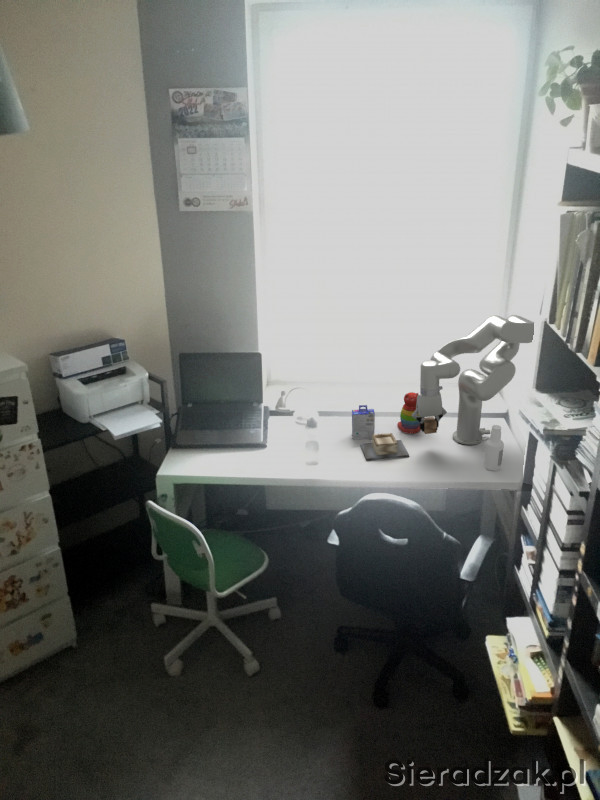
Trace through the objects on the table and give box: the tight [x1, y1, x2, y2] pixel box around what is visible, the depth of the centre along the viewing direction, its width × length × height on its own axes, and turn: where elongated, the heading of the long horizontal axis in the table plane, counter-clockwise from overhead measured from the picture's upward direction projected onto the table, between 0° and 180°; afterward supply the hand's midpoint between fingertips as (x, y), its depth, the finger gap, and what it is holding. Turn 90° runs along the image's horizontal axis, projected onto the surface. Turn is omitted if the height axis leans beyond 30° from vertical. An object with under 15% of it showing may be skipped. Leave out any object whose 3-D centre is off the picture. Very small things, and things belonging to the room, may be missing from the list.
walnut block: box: [423, 416, 438, 435], centre depth 268 cm, size 5×5×5 cm
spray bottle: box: [483, 424, 505, 472], centre depth 253 cm, size 7×7×18 cm
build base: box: [359, 432, 410, 462], centre depth 269 cm, size 18×13×6 cm
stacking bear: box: [396, 391, 422, 434], centre depth 284 cm, size 11×10×18 cm
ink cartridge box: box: [351, 404, 376, 440], centre depth 280 cm, size 10×6×14 cm, turn 89°
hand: (429, 429), depth 268 cm, fingers closed on walnut block, 5 cm apart
